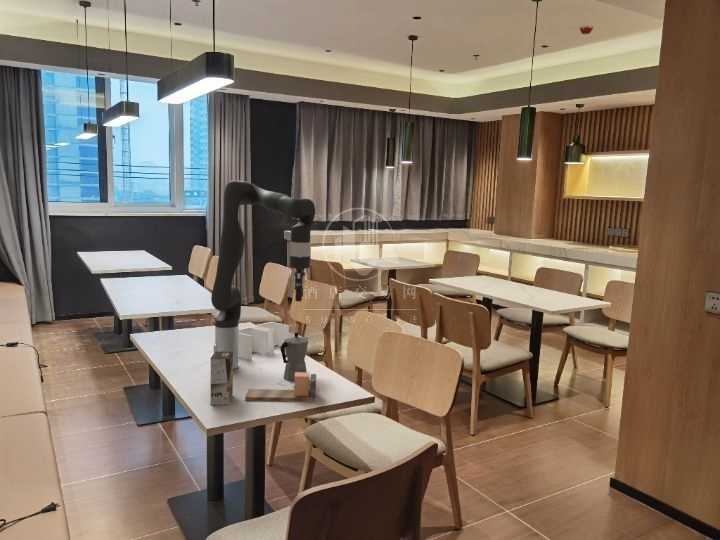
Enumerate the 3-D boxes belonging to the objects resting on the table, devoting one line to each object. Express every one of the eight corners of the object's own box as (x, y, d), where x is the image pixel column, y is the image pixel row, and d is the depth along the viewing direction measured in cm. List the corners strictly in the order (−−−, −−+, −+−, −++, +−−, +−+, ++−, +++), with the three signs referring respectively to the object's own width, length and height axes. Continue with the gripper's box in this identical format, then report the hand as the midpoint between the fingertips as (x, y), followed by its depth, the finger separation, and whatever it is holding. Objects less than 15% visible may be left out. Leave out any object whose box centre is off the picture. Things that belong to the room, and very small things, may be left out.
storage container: (270, 344, 271) (271, 321, 269) (288, 348, 265) (289, 325, 263) (231, 356, 250) (231, 331, 249) (249, 360, 244) (250, 335, 243)
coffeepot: (296, 371, 232) (297, 327, 229) (315, 376, 227) (316, 331, 224) (271, 381, 219) (271, 335, 216) (290, 386, 214) (291, 339, 211)
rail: (245, 400, 198) (245, 380, 197) (248, 392, 206) (248, 372, 205) (315, 401, 200) (315, 381, 199) (315, 393, 207) (316, 374, 206)
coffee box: (229, 405, 194) (229, 358, 191) (210, 405, 193) (210, 358, 191) (233, 395, 203) (233, 351, 200) (214, 395, 202) (214, 350, 200)
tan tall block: (294, 395, 201) (294, 376, 200) (294, 391, 205) (295, 372, 204) (308, 395, 201) (309, 376, 200) (309, 391, 205) (309, 372, 204)
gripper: (291, 252, 214) (290, 295, 216) (288, 256, 200) (287, 302, 202) (311, 252, 215) (310, 295, 217) (309, 257, 200) (308, 302, 203)
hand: (299, 298), depth 210 cm, fingers open, 8 cm apart
